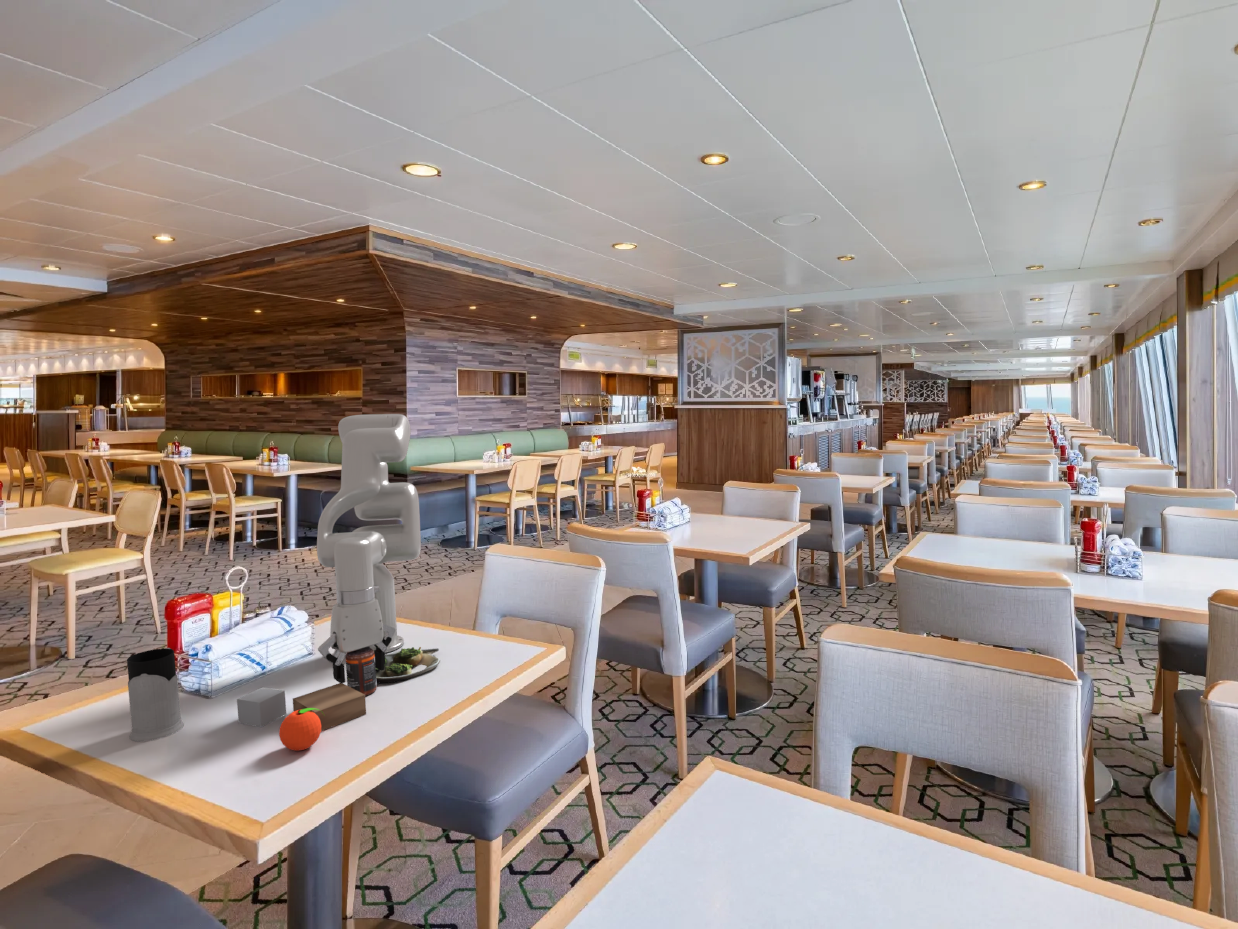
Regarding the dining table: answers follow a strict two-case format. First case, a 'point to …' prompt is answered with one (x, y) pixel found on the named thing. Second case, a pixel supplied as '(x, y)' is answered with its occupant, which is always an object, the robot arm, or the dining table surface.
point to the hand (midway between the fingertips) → (360, 674)
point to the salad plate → (406, 664)
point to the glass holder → (153, 695)
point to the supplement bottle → (361, 670)
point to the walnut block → (333, 704)
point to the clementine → (300, 729)
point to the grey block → (261, 706)
